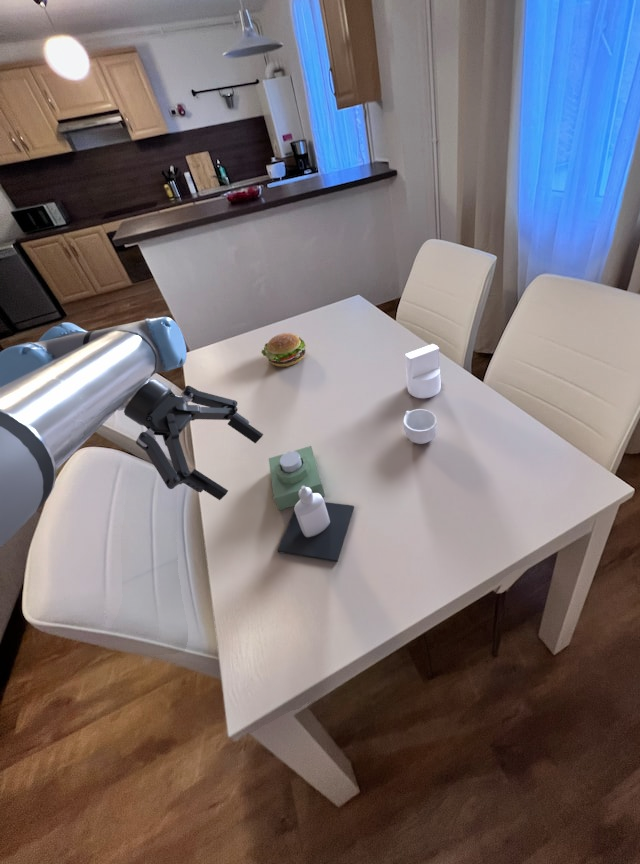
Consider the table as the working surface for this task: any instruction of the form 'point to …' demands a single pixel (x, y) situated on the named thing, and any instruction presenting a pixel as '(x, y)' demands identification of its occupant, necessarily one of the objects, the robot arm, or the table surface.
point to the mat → (318, 535)
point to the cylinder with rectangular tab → (423, 371)
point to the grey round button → (290, 462)
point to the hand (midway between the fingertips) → (243, 465)
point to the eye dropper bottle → (311, 512)
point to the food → (284, 349)
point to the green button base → (294, 479)
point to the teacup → (420, 425)
